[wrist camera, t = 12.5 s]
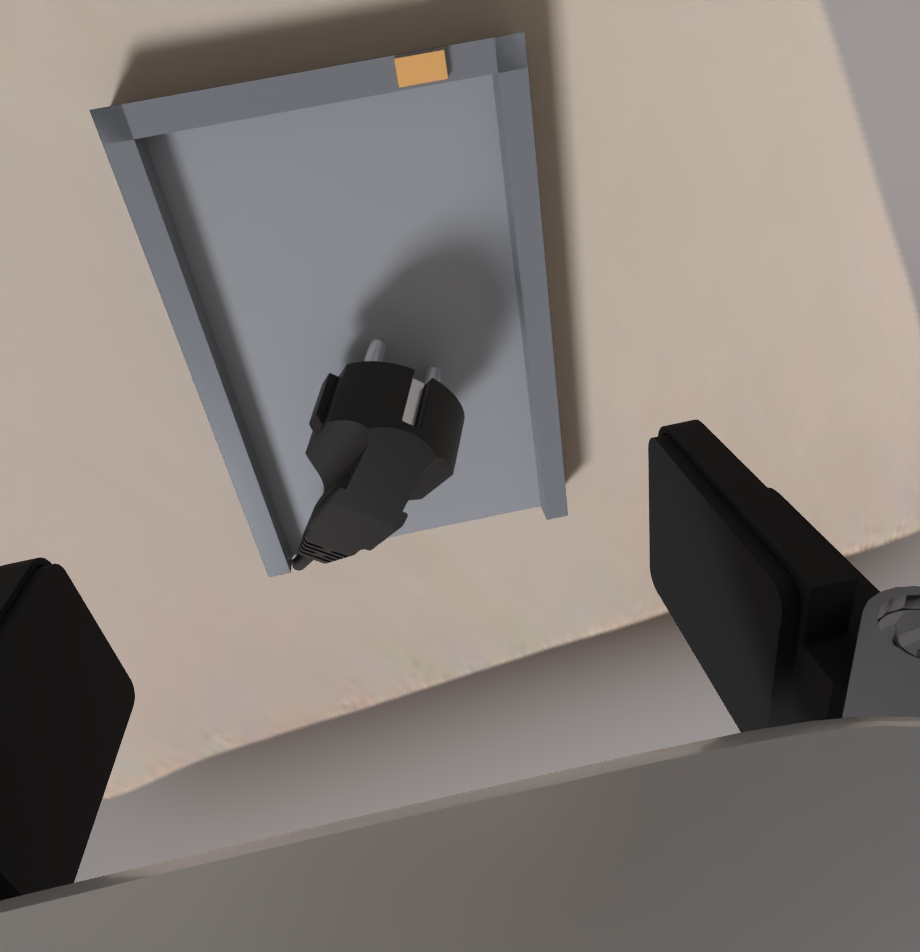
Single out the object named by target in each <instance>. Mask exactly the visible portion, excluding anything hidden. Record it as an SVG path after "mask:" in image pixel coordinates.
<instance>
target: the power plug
mask: <svg viewBox="0 0 920 952" xmlns="http://www.w3.org/2000/svg"><path fill="white" fill-rule="evenodd" d="M386 351H387V344H386V342H385V341H384V340H383V339H381V338H373V339H372V340H370V342H369V344H368V347H367V350H366V354H365V357H364V360H363V362H355V363H350V364H347V365H346V366H345V368H344V369H343V370H342V372H341V373H340V375H339V376H336V375H334V374H332V373H329V374H328V376H327V377H326V379H325V380H324V382H323V383H322V386H321V389H320V392H319V395H318V398H317V401H316V404H315V407H314V410H313V413H312V416H311V419H310V422H309V425H310V427H311V429H312V434H311V437H310V440H309V443H308V446H307V449H306V452H305V454H306V456H307V457H308V459H309V461H310V462H311V464H312V465H313V467H314V468H315V469H316V471H317V472H318V474H319V476H320V477H321V480H322V482H323V485H324V492H323V495H322V496H321V497H320V499H319V500H318V502H317V503H316V505H315V507H314V509H313V512H312V514H311V517H310V519H309V521H308V524H307V526H306V529H305V531H304V533H303V536H302V540H301V543H300V546H299V549H298V552H299V554H298V555H297V556H296V557H295V558H294V559H293V560H292V566H293V568H294V569H295V570H302V569H304V568H305V567H306V566H307V565H308V564H309V563H311V562H312V561H313V560H316V561H319V562H322V563H329V562H332V561H336V560H339V559H342V558H346V557H349V556H352V555H355V554H356V553H357V552H358V551H360V550H363V549H367V550H372V549H373V548H374V547H376V546H377V545H378V544H380V543H381V542H382V541H384V540H385V539H386V538H388V537H389V536H390V535H392V534H393V533H394V532H396V531H397V530H398V529H400V528H401V527H402V526H403V525H404V523H405V521H406V519H407V517H408V514H407V513H405V512H403V510H404V508H405V506H406V504H407V503H408V500H419V499H423V498H424V497H425V496H426V495H428V494H429V493H430V492H432V491H433V490H434V489H435V488H437V487H438V486H439V485H440V484H442V483H443V482H444V481H446V480H447V479H448V478H449V477H451V476H452V475H453V474H454V469H455V464H456V459H457V454H458V449H459V444H460V439H461V434H462V429H463V424H464V420H465V415H464V410H463V407H462V405H461V403H460V402H459V400H458V399H457V397H456V396H455V395H454V394H453V393H452V392H451V391H450V390H449V389H448V388H447V387H445V386H444V385H443V384H442V383H441V380H442V376H443V371H442V369H441V367H439V366H438V365H435V364H432V365H429V366H428V367H426V369H425V372H424V376H423V380H422V382H420V381H418V380H416V379H414V378H413V376H414V372H415V369H412V368H409V367H406V366H402V365H398V364H393V363H388V362H384V358H385V355H386Z"/></svg>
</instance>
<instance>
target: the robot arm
mask: <svg viewBox="0 0 920 952" xmlns="http://www.w3.org/2000/svg"><path fill="white" fill-rule="evenodd" d="M648 452H649V530H650V572H651V577H652V581H653V584H654V586H655V588H656V590H657V592H658V594H659V595H660V597H661V599H662V601H663V602H664V604H665V606H666V607H667V609H668V611H669V612H670V614H671V616H672V617H673V619H674V621H675V622H676V624H677V626H678V627H679V629H680V631H681V632H682V634H683V636H684V637H685V639H686V641H687V643H688V644H689V646H690V648H691V649H692V651H693V653H694V654H695V656H696V658H697V659H698V661H699V663H700V664H701V666H702V668H703V669H704V671H705V673H706V674H707V676H708V678H709V679H710V681H711V683H712V685H713V686H714V688H715V689H716V691H717V693H718V695H719V696H720V698H721V700H722V701H723V703H724V705H725V706H726V708H727V710H728V711H729V713H730V715H731V716H732V718H733V720H734V721H735V723H736V725H737V726H738V728H739V730H740V732H741V733H738V734H733V735H728V736H723V737H719V738H713V739H709V740H704V741H699V742H694V743H689V744H684V745H679V746H675V747H670V748H665V749H660V750H655V751H651V752H646V753H641V754H636V755H631V756H627V757H623V758H618V759H614V760H609V761H604V762H600V763H596V764H591V765H586V766H582V767H577V768H573V769H568V770H564V771H560V772H555V773H551V774H546V775H542V776H537V777H533V778H529V779H524V780H520V781H515V782H511V783H506V784H501V785H497V786H492V787H488V788H483V789H479V790H475V791H470V792H466V793H461V794H457V795H452V796H448V797H444V798H439V799H435V800H430V801H426V802H421V803H418V804H413V805H408V806H404V807H400V808H395V809H391V810H386V811H382V812H378V813H374V814H369V815H365V816H360V817H356V818H351V819H347V820H343V821H339V822H334V823H330V824H326V825H321V826H317V827H312V828H308V829H304V830H299V831H295V832H290V833H286V834H282V835H278V836H273V837H269V838H265V839H260V840H256V841H252V842H247V843H243V844H238V845H234V846H230V847H225V848H221V849H217V850H213V851H208V852H204V853H200V854H195V855H192V856H187V857H183V858H178V859H174V860H170V861H166V862H161V863H157V864H153V865H149V866H144V867H140V868H136V869H132V870H128V871H123V872H119V873H115V874H110V875H106V876H102V877H98V878H94V879H89V880H85V881H81V882H76V883H74V880H75V878H76V875H77V872H78V869H79V866H80V863H81V859H82V857H83V854H84V851H85V848H86V845H87V842H88V839H89V836H90V833H91V830H92V827H93V824H94V821H95V818H96V815H97V812H98V809H99V806H100V804H101V801H102V798H103V795H104V792H105V789H106V786H107V783H108V780H109V777H110V774H111V771H112V768H113V765H114V762H115V759H116V756H117V753H118V750H119V747H120V744H121V741H122V738H123V735H124V732H125V729H126V726H127V724H128V721H129V718H130V715H131V712H132V709H133V706H134V701H135V693H134V687H133V684H132V681H131V679H130V678H129V676H128V674H127V673H126V671H125V669H124V668H123V666H122V664H121V663H120V661H119V659H118V658H117V656H116V654H115V653H114V651H113V649H112V648H111V646H110V644H109V643H108V641H107V639H106V638H105V636H104V634H103V633H102V631H101V629H100V628H99V626H98V624H97V623H96V621H95V619H94V618H93V616H92V614H91V613H90V611H89V609H88V608H87V606H86V604H85V603H84V601H83V599H82V598H81V596H80V594H79V593H78V591H77V589H76V588H75V586H74V584H73V583H72V581H71V579H70V578H69V576H68V574H67V573H66V571H65V570H64V568H63V567H62V566H60V565H59V564H51V563H50V562H49V561H48V560H46V559H45V558H35V559H31V560H26V561H21V562H16V563H12V564H7V565H3V566H0V952H920V587H918V586H910V587H895V588H892V589H889V590H885V591H882V592H880V591H879V590H877V588H875V587H874V586H873V585H872V584H871V583H870V582H869V581H868V580H867V579H866V578H865V577H864V576H863V575H862V574H861V573H860V572H859V571H858V570H857V569H856V568H855V567H854V566H853V565H852V564H851V563H850V562H849V561H848V560H847V559H846V558H845V557H844V556H843V555H842V554H841V553H840V552H839V551H838V550H837V549H836V548H835V547H834V546H833V545H832V544H830V543H829V542H828V541H827V540H826V539H825V538H824V537H823V536H822V535H821V534H820V533H819V532H818V531H817V530H816V529H815V528H814V527H813V526H812V525H811V524H810V523H809V522H808V521H807V520H806V519H805V518H804V517H803V516H802V515H801V514H800V513H799V512H798V511H797V510H796V509H795V508H794V507H793V506H792V505H791V504H790V503H789V502H788V501H787V500H785V499H784V498H783V497H782V496H781V495H780V494H779V493H778V492H777V491H775V490H774V489H772V488H767V487H766V486H765V485H764V484H763V483H762V482H761V481H760V480H759V479H758V478H757V477H756V476H755V475H754V474H753V473H752V472H751V471H750V470H749V469H748V468H747V467H746V466H745V465H744V464H743V463H742V462H741V461H740V460H739V459H738V458H737V457H736V456H735V455H734V454H733V453H732V452H731V451H730V450H729V449H728V448H727V447H726V446H725V445H724V444H723V443H722V442H721V441H720V440H719V439H718V438H717V437H716V436H715V435H714V434H713V433H712V432H711V431H710V430H709V429H708V428H707V427H706V426H705V425H704V424H703V423H702V422H700V421H699V420H691V421H687V422H682V423H677V424H672V425H668V426H663V427H661V428H660V430H659V434H658V437H654V438H651V439H650V441H649V447H648Z"/></svg>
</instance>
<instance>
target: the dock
mask: <svg viewBox="0 0 920 952" xmlns="http://www.w3.org/2000/svg"><path fill="white" fill-rule="evenodd" d="M90 113H91V115H92V118H93V121H94V123H95V126H96V128H97V131H98V134H99V136H100V139H101V141H102V144H103V147H104V149H105V152H106V154H107V157H108V160H109V162H110V165H111V167H112V170H113V173H114V175H115V178H116V180H117V183H118V186H119V188H120V191H121V193H122V196H123V199H124V201H125V204H126V207H127V209H128V212H129V214H130V217H131V220H132V222H133V225H134V227H135V230H136V233H137V235H138V238H139V240H140V243H141V246H142V248H143V251H144V253H145V256H146V259H147V261H148V264H149V266H150V269H151V272H152V274H153V277H154V279H155V282H156V285H157V287H158V290H159V292H160V295H161V298H162V300H163V303H164V306H165V308H166V311H167V313H168V316H169V319H170V321H171V324H172V326H173V329H174V332H175V334H176V337H177V339H178V342H179V345H180V347H181V350H182V352H183V355H184V358H185V360H186V363H187V365H188V368H189V371H190V373H191V376H192V378H193V381H194V384H195V386H196V389H197V391H198V394H199V397H200V399H201V402H202V405H203V407H204V410H205V412H206V415H207V418H208V420H209V423H210V425H211V428H212V431H213V433H214V436H215V438H216V441H217V444H218V446H219V449H220V451H221V454H222V457H223V459H224V462H225V464H226V467H227V470H228V472H229V475H230V477H231V480H232V483H233V485H234V488H235V490H236V493H237V496H238V498H239V501H240V504H241V506H242V509H243V511H244V514H245V517H246V519H247V522H248V524H249V527H250V530H251V532H252V535H253V537H254V540H255V543H256V545H257V548H258V550H259V553H260V556H261V558H262V561H263V563H264V566H265V569H266V571H267V574H268V576H269V577H272V576H277V575H282V574H287V573H291V565H292V558H293V557H296V556H297V555H298V554H299V552H298V549H299V546H300V543H301V540H302V536H303V533H304V531H305V529H306V526H307V524H308V521H309V519H310V517H311V514H312V512H313V509H314V507H315V505H316V503H317V502H318V500H319V499H320V497H321V496H322V495H323V492H324V485H323V482H322V480H321V477H320V476H319V474H318V472H317V471H316V469H315V468H314V467H313V465H312V464H311V462H310V461H309V459H308V457H307V456H306V454H305V452H306V449H307V446H308V443H309V440H310V437H311V434H312V429H311V427H310V425H309V422H310V419H311V416H312V413H313V410H314V407H315V404H316V401H317V398H318V395H319V392H320V389H321V386H322V383H323V382H324V380H325V379H326V377H327V376H328V374H329V373H332V374H334V375H336V376H339V375H340V373H341V372H342V370H343V369H344V368H345V366H346V365H347V364H350V363H355V362H363V360H364V357H365V354H366V350H367V347H368V344H369V342H370V340H372V339H373V338H381V339H383V340H384V341H385V342H386V344H387V351H386V355H385V358H384V362H388V363H393V364H398V365H402V366H406V367H409V368H412V369H415V372H414V376H413V378H414V379H416V380H418V381H420V382H422V380H423V376H424V372H425V369H426V367H428V366H429V365H432V364H435V365H438V366H439V367H441V369H442V371H443V376H442V380H441V383H442V384H443V385H444V386H445V387H447V388H448V389H449V390H450V391H451V392H452V393H453V394H454V395H455V396H456V397H457V399H458V400H459V402H460V403H461V405H462V407H463V410H464V415H465V420H464V424H463V429H462V434H461V439H460V444H459V449H458V454H457V459H456V464H455V469H454V474H453V475H452V476H451V477H449V478H448V479H447V480H446V481H444V482H443V483H442V484H440V485H439V486H438V487H437V488H435V489H434V490H433V491H432V492H430V493H429V494H428V495H426V496H425V497H424V498H423V499H419V500H408V503H407V504H406V506H405V508H404V510H403V512H405V513H407V514H408V517H407V519H406V521H405V523H404V525H403V526H402V527H401V528H400V529H398V530H397V531H396V532H394V533H393V534H392V535H390V536H389V537H393V536H398V535H402V534H407V533H412V532H417V531H422V530H427V529H432V528H436V527H441V526H446V525H451V524H456V523H461V522H466V521H470V520H475V519H480V518H485V517H490V516H495V515H500V514H504V513H509V512H514V511H519V510H524V509H529V508H534V507H538V506H541V508H542V510H543V512H544V514H545V517H546V519H547V520H548V519H553V518H558V517H563V516H567V515H568V510H567V499H566V488H565V477H564V466H563V454H562V443H561V432H560V421H559V410H558V398H557V387H556V376H555V365H554V353H553V342H552V331H551V320H550V309H549V297H548V286H547V275H546V264H545V253H544V241H543V230H542V219H541V208H540V197H539V185H538V174H537V163H536V152H535V141H534V129H533V118H532V107H531V96H530V84H529V73H528V62H527V51H526V40H525V32H521V33H515V34H510V35H504V36H499V37H493V38H487V39H482V40H476V41H471V42H465V43H460V44H454V45H449V46H443V47H437V48H432V49H426V50H421V51H415V52H410V53H404V54H399V55H393V56H387V57H382V58H376V59H371V60H365V61H360V62H354V63H349V64H343V65H337V66H332V67H326V68H321V69H315V70H310V71H304V72H298V73H293V74H287V75H282V76H276V77H271V78H265V79H260V80H254V81H248V82H243V83H237V84H232V85H226V86H221V87H215V88H210V89H204V90H198V91H193V92H187V93H182V94H176V95H171V96H165V97H160V98H154V99H148V100H143V101H137V102H132V103H126V104H121V105H115V106H110V107H104V108H98V109H93V110H90Z"/></svg>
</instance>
